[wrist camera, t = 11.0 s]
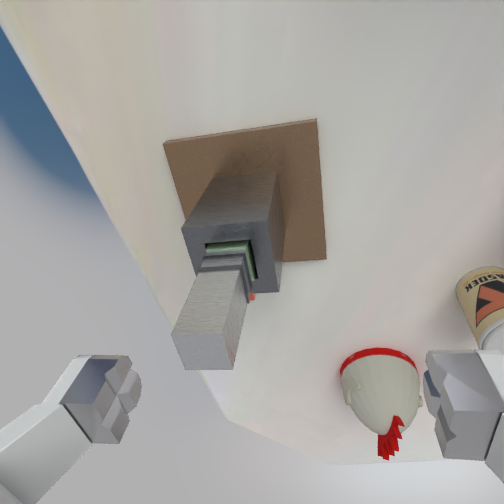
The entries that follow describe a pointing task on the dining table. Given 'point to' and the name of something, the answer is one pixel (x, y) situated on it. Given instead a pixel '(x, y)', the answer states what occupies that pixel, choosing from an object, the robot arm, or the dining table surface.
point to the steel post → (216, 307)
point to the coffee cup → (484, 305)
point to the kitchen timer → (382, 393)
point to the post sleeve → (252, 195)
